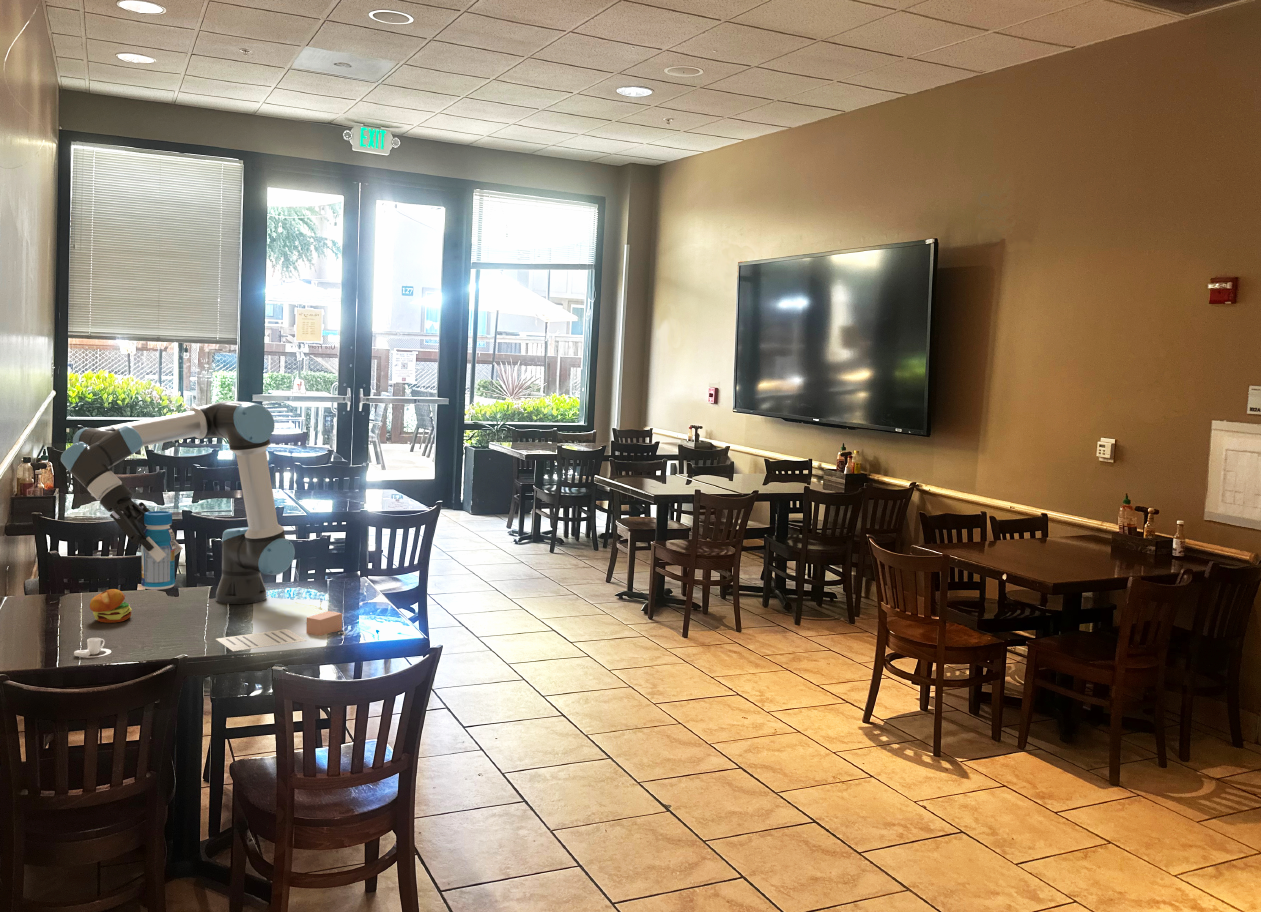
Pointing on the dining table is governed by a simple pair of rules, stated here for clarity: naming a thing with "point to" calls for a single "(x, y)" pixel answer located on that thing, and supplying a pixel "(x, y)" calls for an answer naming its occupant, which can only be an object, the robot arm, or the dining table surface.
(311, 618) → the block
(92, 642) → the teacup and saucer
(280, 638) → the letter
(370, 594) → the dining table surface
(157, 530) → the beverage bottle
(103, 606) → the cheeseburger
